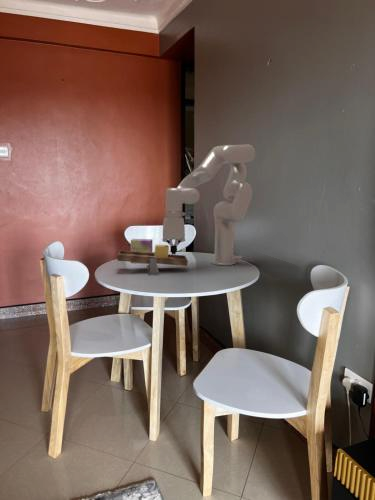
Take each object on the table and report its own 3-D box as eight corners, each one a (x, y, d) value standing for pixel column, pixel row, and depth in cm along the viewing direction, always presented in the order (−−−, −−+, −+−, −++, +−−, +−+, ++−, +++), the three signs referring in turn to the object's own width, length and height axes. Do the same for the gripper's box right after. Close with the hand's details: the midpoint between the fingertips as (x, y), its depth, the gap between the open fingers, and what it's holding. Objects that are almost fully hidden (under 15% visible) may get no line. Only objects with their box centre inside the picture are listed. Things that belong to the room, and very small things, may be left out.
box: (152, 261, 199) (152, 238, 197) (150, 263, 193) (150, 240, 191) (133, 260, 200) (132, 238, 198) (130, 262, 194) (130, 240, 192)
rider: (166, 257, 181) (168, 245, 180) (167, 259, 176) (168, 247, 175) (154, 256, 180) (155, 244, 179) (154, 258, 175) (156, 246, 174)
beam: (184, 261, 185) (185, 255, 185) (187, 265, 175) (187, 259, 175) (118, 256, 181) (118, 250, 180) (117, 260, 171) (117, 254, 170)
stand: (157, 266, 187) (157, 252, 186) (158, 274, 171) (158, 259, 169) (147, 266, 187) (146, 252, 185) (147, 275, 170) (147, 259, 169)
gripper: (188, 214, 180) (188, 252, 183) (157, 214, 178) (157, 252, 181) (191, 215, 172) (190, 255, 176) (158, 215, 170) (158, 255, 174)
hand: (173, 253), depth 178 cm, fingers closed
